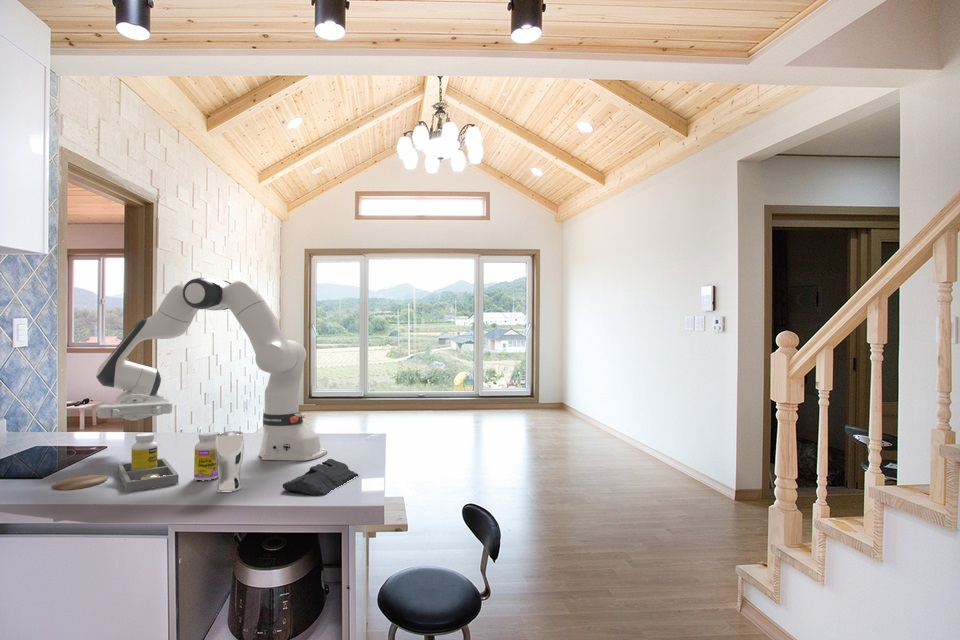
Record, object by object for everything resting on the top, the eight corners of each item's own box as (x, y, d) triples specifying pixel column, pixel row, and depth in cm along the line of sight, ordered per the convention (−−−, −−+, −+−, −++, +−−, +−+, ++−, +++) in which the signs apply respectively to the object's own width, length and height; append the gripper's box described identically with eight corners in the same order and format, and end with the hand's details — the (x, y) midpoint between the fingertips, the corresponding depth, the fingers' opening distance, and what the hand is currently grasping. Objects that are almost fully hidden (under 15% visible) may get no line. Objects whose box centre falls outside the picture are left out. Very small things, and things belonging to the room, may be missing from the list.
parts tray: (117, 472, 156) (117, 464, 156) (164, 466, 163) (164, 458, 163) (126, 492, 138) (126, 482, 138) (178, 483, 145) (178, 474, 145)
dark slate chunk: (271, 494, 139) (272, 476, 139) (317, 471, 160) (317, 456, 160) (323, 499, 135) (323, 480, 135) (362, 475, 156) (363, 459, 156)
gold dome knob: (162, 481, 148) (163, 474, 148) (149, 486, 144) (149, 478, 144) (150, 480, 149) (150, 473, 149) (136, 484, 145) (136, 477, 145)
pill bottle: (144, 477, 151) (145, 437, 151) (125, 476, 152) (126, 436, 152) (162, 471, 157) (163, 432, 157) (144, 470, 159) (144, 431, 159)
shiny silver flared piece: (234, 483, 146) (235, 429, 146) (248, 488, 142) (248, 433, 142) (209, 489, 140) (210, 433, 140) (222, 495, 136) (223, 437, 136)
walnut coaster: (117, 478, 150) (117, 476, 150) (76, 491, 138) (76, 489, 138) (84, 475, 152) (84, 473, 152) (41, 487, 141) (41, 485, 141)
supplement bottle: (193, 482, 146) (194, 436, 146) (194, 476, 152) (194, 432, 152) (220, 479, 149) (221, 434, 150) (219, 473, 155) (220, 430, 155)
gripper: (95, 399, 168) (98, 405, 158) (168, 395, 181) (175, 400, 171) (94, 419, 168) (97, 426, 158) (167, 413, 181) (174, 419, 171)
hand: (138, 412), depth 164 cm, fingers open, 8 cm apart
